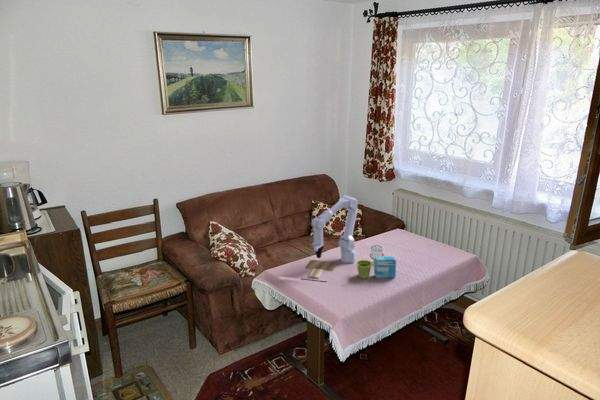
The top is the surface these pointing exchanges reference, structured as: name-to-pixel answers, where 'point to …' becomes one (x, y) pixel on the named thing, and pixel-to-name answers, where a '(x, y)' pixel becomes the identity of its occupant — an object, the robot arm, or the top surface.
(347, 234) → the robot arm
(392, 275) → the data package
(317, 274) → the birch block
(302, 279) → the charcoal mat
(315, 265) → the walnut board
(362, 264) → the plant pot
